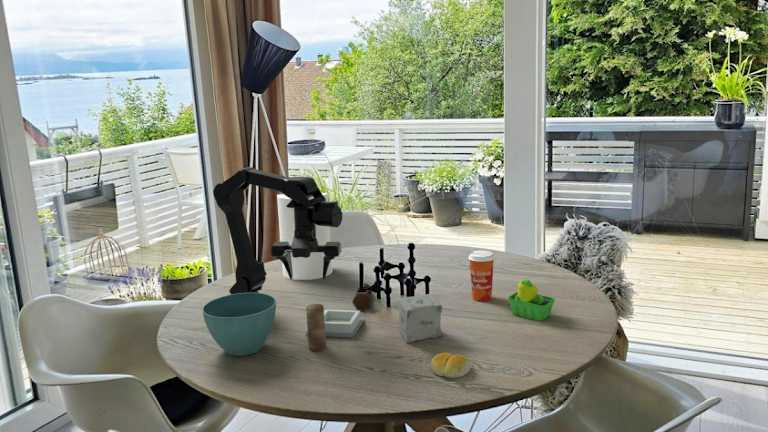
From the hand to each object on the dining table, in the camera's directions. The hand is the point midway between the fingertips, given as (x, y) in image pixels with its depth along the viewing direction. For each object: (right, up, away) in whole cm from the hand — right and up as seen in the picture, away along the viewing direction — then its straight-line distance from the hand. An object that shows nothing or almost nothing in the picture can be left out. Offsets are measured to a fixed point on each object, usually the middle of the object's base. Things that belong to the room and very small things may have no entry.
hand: (307, 278), depth 189 cm
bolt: (+15, -9, +19) cm, 26 cm away
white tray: (+8, -13, -2) cm, 16 cm away
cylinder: (-6, -3, +50) cm, 50 cm away
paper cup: (+51, -8, +16) cm, 54 cm away
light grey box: (+31, -14, -10) cm, 35 cm away
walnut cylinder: (+4, -16, -15) cm, 22 cm away
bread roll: (+37, -19, -31) cm, 51 cm away
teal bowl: (-15, -17, -14) cm, 27 cm away
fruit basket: (+62, -11, +1) cm, 63 cm away
